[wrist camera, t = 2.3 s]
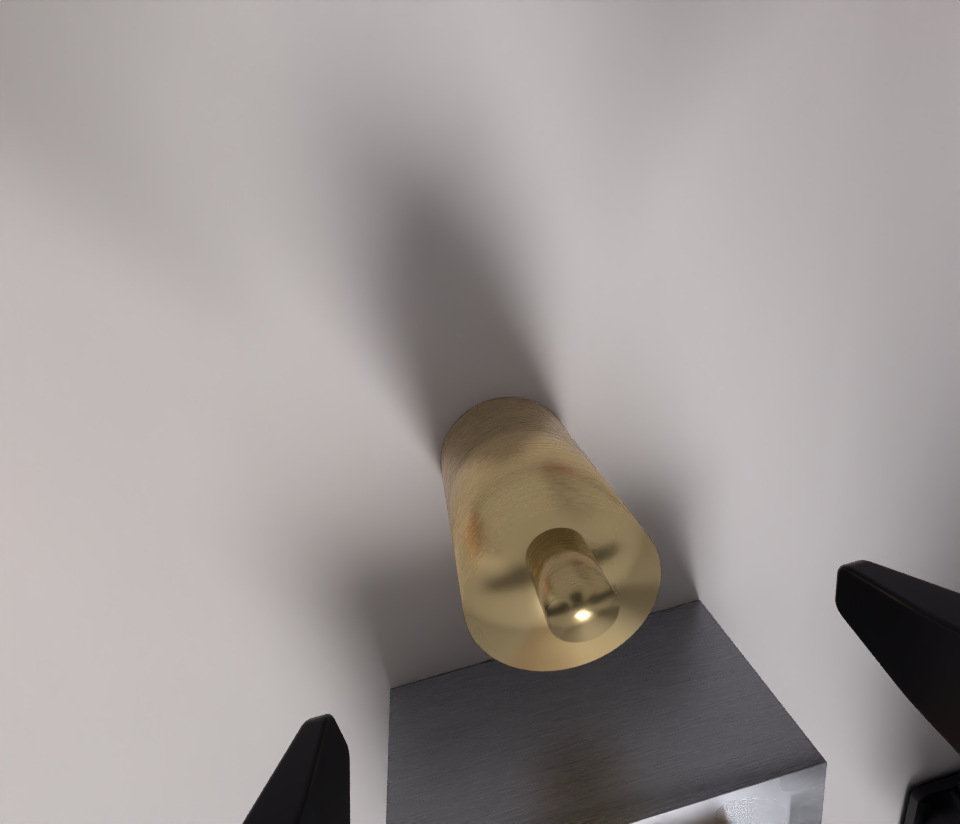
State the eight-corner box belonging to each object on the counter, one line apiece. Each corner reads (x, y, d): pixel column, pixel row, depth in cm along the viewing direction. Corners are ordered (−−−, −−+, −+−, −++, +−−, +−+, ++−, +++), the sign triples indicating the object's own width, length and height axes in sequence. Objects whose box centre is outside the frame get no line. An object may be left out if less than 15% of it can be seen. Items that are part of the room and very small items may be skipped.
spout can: (576, 494, 16) (708, 704, 9) (458, 527, 16) (499, 766, 9) (557, 382, 14) (699, 530, 7) (426, 416, 14) (447, 601, 7)
